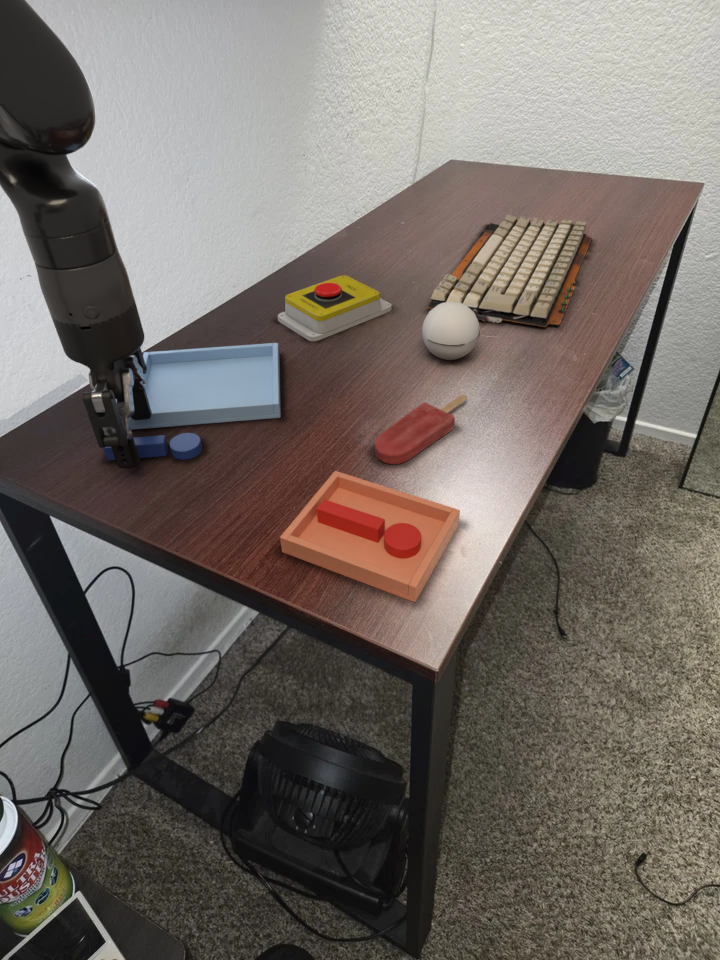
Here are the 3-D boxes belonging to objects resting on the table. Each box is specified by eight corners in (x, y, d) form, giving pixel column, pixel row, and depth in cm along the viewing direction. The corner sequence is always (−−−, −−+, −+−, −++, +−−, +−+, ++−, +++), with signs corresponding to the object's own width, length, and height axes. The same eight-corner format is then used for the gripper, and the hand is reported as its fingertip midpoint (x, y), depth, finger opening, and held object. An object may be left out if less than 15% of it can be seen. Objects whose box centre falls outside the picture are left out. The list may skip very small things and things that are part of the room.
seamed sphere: (410, 362, 86) (412, 310, 81) (436, 337, 90) (438, 287, 86) (482, 382, 82) (488, 328, 77) (504, 355, 86) (511, 303, 82)
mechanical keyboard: (487, 225, 122) (489, 206, 120) (593, 238, 116) (597, 219, 114) (424, 315, 96) (426, 293, 94) (557, 337, 90) (561, 314, 88)
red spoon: (312, 528, 62) (311, 515, 61) (330, 506, 64) (329, 492, 63) (412, 563, 59) (412, 549, 57) (426, 538, 61) (427, 524, 60)
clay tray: (281, 552, 61) (279, 537, 59) (335, 485, 68) (334, 470, 66) (415, 602, 56) (416, 587, 55) (458, 525, 63) (460, 509, 61)
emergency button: (271, 290, 93) (354, 262, 100) (275, 319, 96) (355, 289, 103) (310, 313, 87) (394, 281, 94) (312, 342, 90) (394, 309, 97)
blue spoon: (105, 466, 71) (101, 453, 70) (111, 447, 73) (107, 434, 72) (201, 458, 71) (198, 445, 70) (203, 439, 74) (200, 426, 73)
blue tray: (129, 429, 76) (125, 415, 74) (147, 365, 87) (143, 352, 85) (280, 417, 77) (278, 403, 76) (279, 355, 88) (277, 342, 86)
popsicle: (482, 396, 76) (397, 459, 68) (480, 408, 77) (397, 472, 69) (450, 382, 78) (365, 441, 70) (449, 394, 79) (365, 454, 72)
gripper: (68, 272, 66) (113, 406, 76) (28, 343, 55) (87, 487, 66) (144, 267, 66) (178, 401, 77) (119, 336, 55) (163, 480, 66)
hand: (136, 441), depth 71 cm, fingers open, 8 cm apart
